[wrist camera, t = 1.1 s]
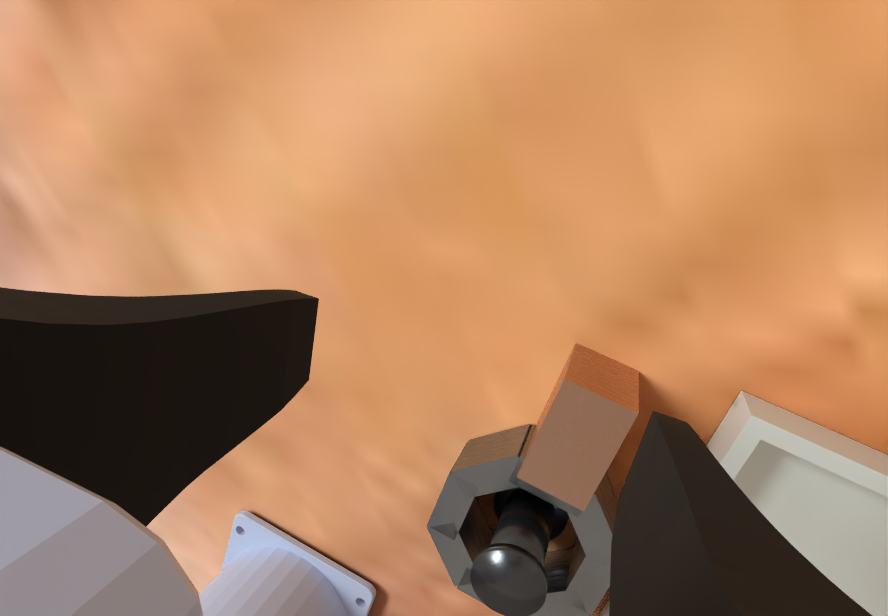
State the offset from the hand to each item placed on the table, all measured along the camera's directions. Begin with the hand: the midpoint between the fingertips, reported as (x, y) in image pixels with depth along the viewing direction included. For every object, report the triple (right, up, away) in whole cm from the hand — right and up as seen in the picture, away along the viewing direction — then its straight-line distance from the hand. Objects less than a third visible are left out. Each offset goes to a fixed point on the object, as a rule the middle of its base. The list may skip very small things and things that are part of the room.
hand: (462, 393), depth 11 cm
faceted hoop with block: (+4, -5, +11) cm, 12 cm away
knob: (+3, -6, +11) cm, 13 cm away
